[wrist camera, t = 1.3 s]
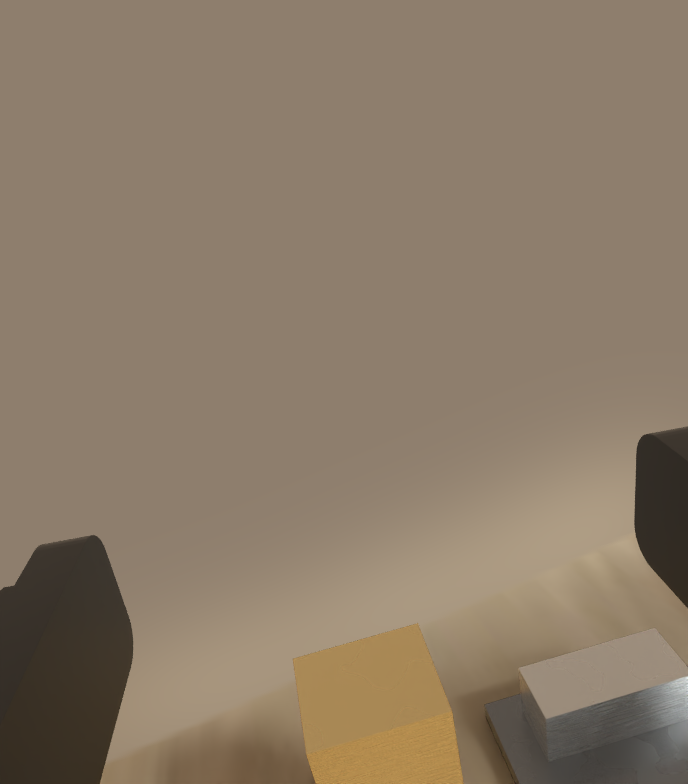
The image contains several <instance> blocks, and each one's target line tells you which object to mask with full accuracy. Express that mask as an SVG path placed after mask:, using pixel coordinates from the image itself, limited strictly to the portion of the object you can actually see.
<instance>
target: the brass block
mask: <svg viewBox="0 0 688 784" xmlns="http://www.w3.org/2000/svg"><path fill="white" fill-rule="evenodd" d="M293 664H294V671H295V678H296V685H297V692H298V699H299V706H300V714H301V721H302V728H303V735H304V742H305V749H306V755H307V758H308V762H309V765H310V768H311V771H312V774H313V777H314V780H315V783H316V784H464V783H463V777H462V771H461V765H460V758H459V752H458V746H457V739H456V733H455V727H454V720H453V714H452V710H451V707H450V705H449V702H448V700H447V697H446V694H445V692H444V689H443V687H442V684H441V682H440V679H439V676H438V674H437V671H436V669H435V666H434V664H433V661H432V659H431V656H430V653H429V651H428V648H427V646H426V643H425V641H424V638H423V635H422V633H421V630H420V628H419V625H418V623H417V624H414V625H410V626H407V627H403V628H400V629H396V630H393V631H389V632H385V633H382V634H378V635H375V636H371V637H368V638H364V639H361V640H357V641H354V642H350V643H347V644H343V645H340V646H336V647H333V648H329V649H326V650H322V651H319V652H315V653H312V654H308V655H304V656H301V657H298V658H294V659H293Z"/></svg>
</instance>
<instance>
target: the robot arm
mask: <svg viewBox="0 0 688 784" xmlns="http://www.w3.org/2000/svg"><path fill="white" fill-rule="evenodd" d="M635 489H636V490H635V533H636V538H637V541H638V544H639V547H640V550H641V552H642V554H643V556H644V558H645V560H646V561H647V563H648V564H649V565H650V567H651V568H652V569H653V570H654V571H655V572H656V573H657V574H658V576H659V577H660V578H661V579H662V580H663V581H664V582H665V583H666V585H667V586H668V587H669V588H670V589H671V590H672V591H673V592H674V593H675V595H676V596H677V597H678V598H679V599H680V600H681V601H682V602H683V603H684V605H685V606H686V607H687V608H688V427H683V428H678V429H673V430H667V431H661V432H656V433H650V434H646V435H643V436H642V437H641V439H640V440H639V442H638V446H637V454H636V487H635ZM132 658H133V635H132V628H131V623H130V619H129V616H128V614H127V610H126V607H125V605H124V602H123V599H122V596H121V593H120V590H119V587H118V585H117V582H116V579H115V576H114V573H113V570H112V567H111V564H110V561H109V559H108V556H107V553H106V550H105V548H104V545H103V544H102V542H101V540H100V539H99V538H98V537H97V536H95V535H91V536H86V537H80V538H75V539H69V540H64V541H58V542H53V543H48V544H42V545H40V546H38V547H37V548H36V550H35V551H34V553H33V554H32V556H31V558H30V560H29V561H28V563H27V565H26V566H25V568H24V570H23V572H22V574H21V575H20V577H19V578H18V580H17V582H16V584H15V585H14V586H10V587H5V588H3V589H2V590H0V784H100V780H101V776H102V773H103V769H104V765H105V761H106V757H107V754H108V750H109V746H110V742H111V739H112V735H113V731H114V728H115V724H116V720H117V716H118V713H119V709H120V705H121V702H122V698H123V694H124V691H125V687H126V683H127V679H128V676H129V672H130V668H131V664H132Z"/></svg>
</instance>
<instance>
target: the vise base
mask: <svg viewBox="0 0 688 784" xmlns="http://www.w3.org/2000/svg"><path fill="white" fill-rule="evenodd" d="M519 680H520V691H521V694H518V695H515V696H512V697H508V698H505V699H501V700H498V701H495V702H491V703H488V704H485V705H484V706H485V714H486V718H487V721H488V723H489V725H490V727H491V730H492V732H493V734H494V736H495V739H496V741H497V743H498V745H499V748H500V750H501V752H502V754H503V757H504V759H505V761H506V764H507V766H508V768H509V770H510V773H511V775H512V777H513V779H514V782H515V784H688V667H687V665H686V664H685V663H684V662H683V661H682V659H681V658H680V657H679V656H678V655H677V653H676V652H675V651H674V650H673V649H672V647H671V646H670V645H669V644H668V643H667V642H666V640H665V639H664V638H663V637H662V636H661V634H660V633H659V632H658V631H657V630H656V628H652V629H649V630H645V631H642V632H638V633H635V634H632V635H628V636H625V637H621V638H618V639H615V640H611V641H608V642H605V643H601V644H598V645H594V646H591V647H588V648H584V649H581V650H577V651H574V652H571V653H567V654H564V655H560V656H557V657H554V658H550V659H547V660H544V661H540V662H537V663H533V664H530V665H527V666H523V667H520V668H519Z"/></svg>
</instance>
